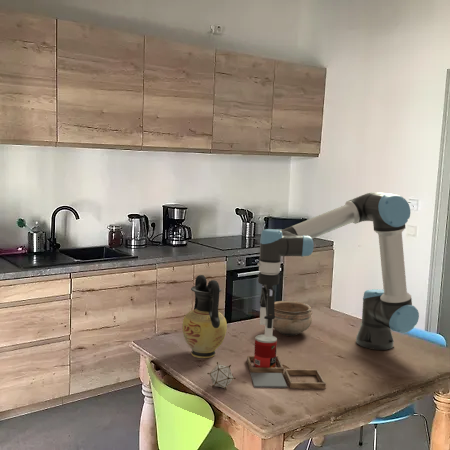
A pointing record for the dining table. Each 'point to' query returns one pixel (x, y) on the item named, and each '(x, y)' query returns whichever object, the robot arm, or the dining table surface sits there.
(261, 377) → the slate board
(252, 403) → the dining table surface
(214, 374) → the game die
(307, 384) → the empty crate
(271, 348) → the canned food
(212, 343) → the amphora
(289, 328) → the cooking pot
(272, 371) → the frame
